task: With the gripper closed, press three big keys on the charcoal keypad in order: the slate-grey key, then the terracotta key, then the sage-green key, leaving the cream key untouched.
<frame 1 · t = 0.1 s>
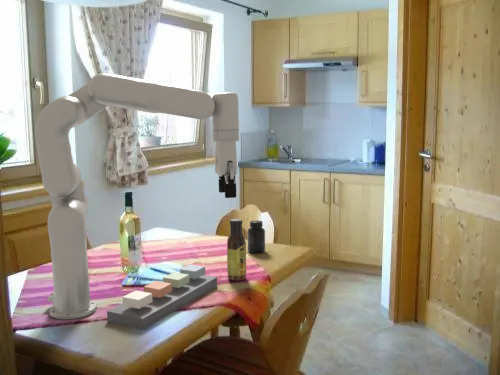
hand: (227, 194, 159), 31 cm above the table, tool pointing down, fingers open, 9 cm apart
sauce bottle: (237, 279, 181), on the table
supplement bottle: (256, 252, 213), on the table
sage key: (176, 279, 164), point 5 cm above the table, slide at 0.0 cm
keypad base: (167, 302, 160), on the table
slate key: (192, 271, 171), point 5 cm above the table, slide at 0.0 cm
terracotta key: (157, 289, 156), point 5 cm above the table, slide at 0.0 cm
cream key: (137, 299, 148), point 5 cm above the table, slide at 0.0 cm
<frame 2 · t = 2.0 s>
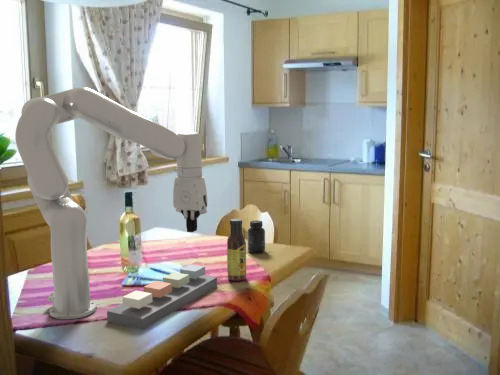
hand: (192, 231, 169), 18 cm above the table, tool pointing down, fingers closed
nothing on the table moved.
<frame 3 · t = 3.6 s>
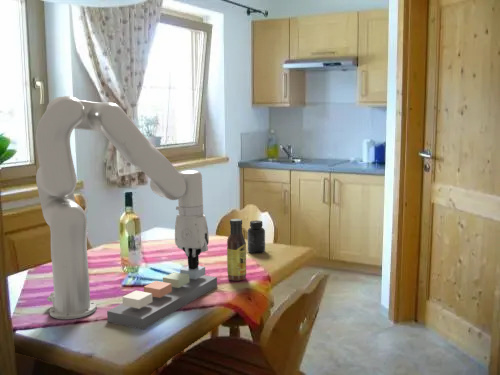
hand: (193, 267, 171), 7 cm above the table, tool pointing down, fingers closed
slate key: (192, 271, 171), point 5 cm above the table, slide at 0.1 cm, touching gripper
everything else where it was.
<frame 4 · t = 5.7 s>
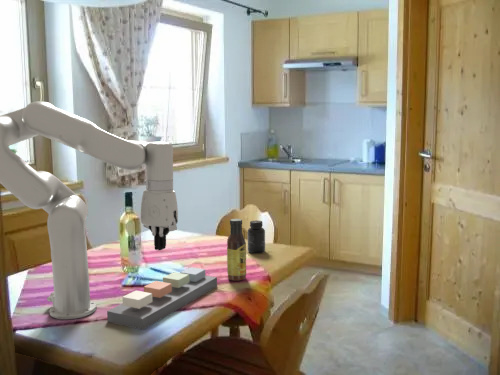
hand: (160, 248, 156), 17 cm above the table, tool pointing down, fingers closed
slate key: (192, 274, 172), point 4 cm above the table, slide at 1.0 cm
everything else where it was.
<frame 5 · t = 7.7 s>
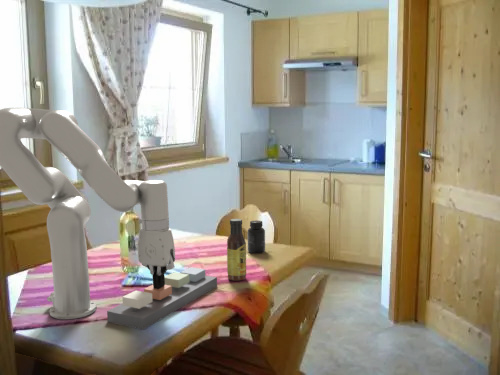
hand: (159, 287, 156), 6 cm above the table, tool pointing down, fingers closed
terracotta key: (158, 291, 156), point 5 cm above the table, slide at 0.7 cm, touching gripper
everything else where it was.
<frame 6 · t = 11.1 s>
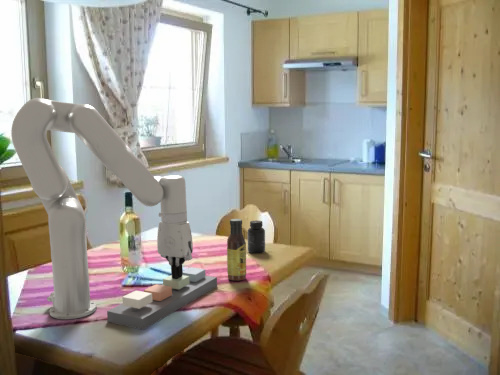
hand: (177, 277, 164), 6 cm above the table, tool pointing down, fingers closed
sage key: (176, 281, 164), point 5 cm above the table, slide at 0.5 cm, touching gripper
terracotta key: (158, 292, 156), point 4 cm above the table, slide at 1.0 cm
everything else where it was.
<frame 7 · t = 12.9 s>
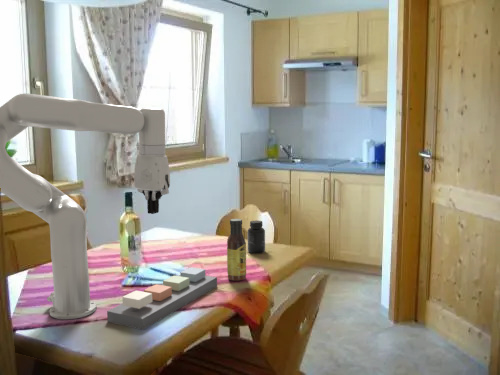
hand: (153, 212, 161), 26 cm above the table, tool pointing down, fingers closed
sage key: (176, 283, 164), point 4 cm above the table, slide at 1.0 cm
everything else where it was.
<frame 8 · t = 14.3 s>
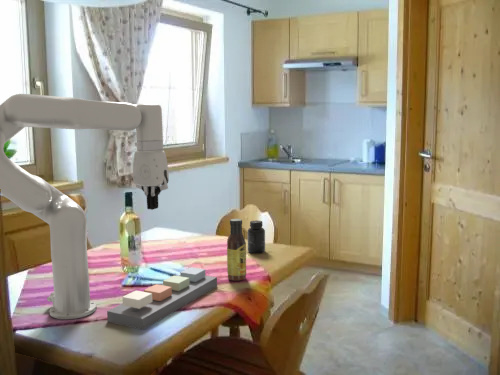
hand: (152, 208, 161), 27 cm above the table, tool pointing down, fingers closed
nothing on the table moved.
at the end: slate key slide at 1.0 cm; terracotta key slide at 1.0 cm; sage key slide at 1.0 cm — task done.
